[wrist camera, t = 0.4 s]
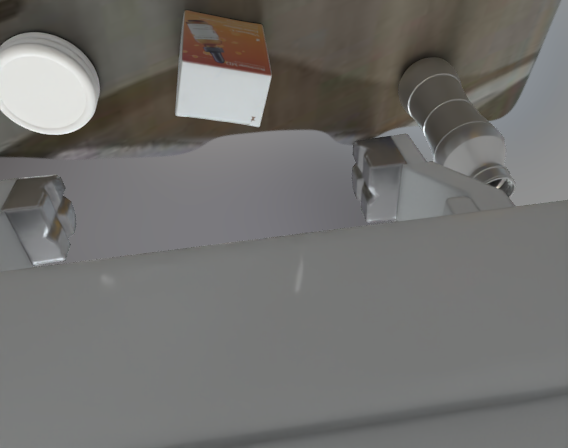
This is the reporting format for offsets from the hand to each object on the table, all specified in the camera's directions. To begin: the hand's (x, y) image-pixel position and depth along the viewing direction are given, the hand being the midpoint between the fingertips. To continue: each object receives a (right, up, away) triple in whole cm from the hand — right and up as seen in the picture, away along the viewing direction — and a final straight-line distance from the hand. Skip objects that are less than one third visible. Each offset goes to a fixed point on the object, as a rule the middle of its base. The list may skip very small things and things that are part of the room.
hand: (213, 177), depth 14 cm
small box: (-5, +18, +37) cm, 41 cm away
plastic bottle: (+18, +16, +43) cm, 49 cm away
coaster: (-22, +14, +37) cm, 45 cm away
